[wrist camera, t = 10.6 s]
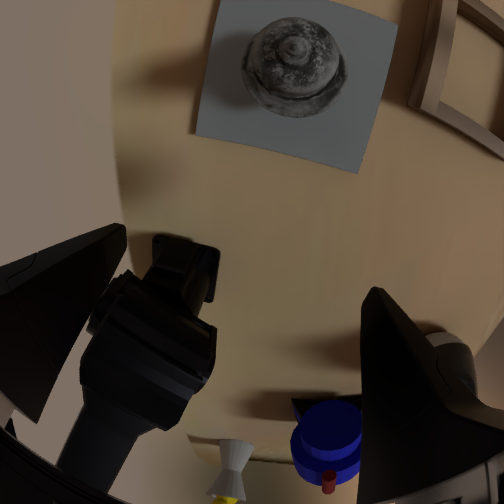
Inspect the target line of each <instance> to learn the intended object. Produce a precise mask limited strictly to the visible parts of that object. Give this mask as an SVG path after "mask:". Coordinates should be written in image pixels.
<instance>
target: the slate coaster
mask: <svg viewBox="0 0 504 504" xmlns="http://www.w3.org/2000/svg"><path fill="white" fill-rule="evenodd" d="M288 17H300V18H306V19H309V20H312V21H315V22H316V23H318V24H320V25H321V26H323V27H324V28H325V29H326V30H327V31H328V32H329V33H330V34H331V35H332V36H333V38H334V39H335V40H336V41H337V42H338V43H339V44H340V46H341V47H342V49H343V51H344V53H345V56H346V58H347V63H348V68H349V74H348V82H347V85H346V88H345V90H344V92H343V95H342V96H341V97H340V98H339V99H338V101H337V102H336V103H335V104H334V105H333V106H331V107H330V108H328V109H327V110H326V111H324V112H322V113H319V114H316V115H314V116H311V117H302V118H293V117H285V116H281V115H279V114H276V113H273V112H270V111H269V110H267V109H266V108H264V107H263V106H261V105H260V104H258V102H257V101H256V100H255V99H254V98H253V97H252V96H251V95H250V94H249V92H248V90H247V88H246V86H245V84H244V82H243V77H242V73H241V62H242V56H243V53H244V51H245V48H246V46H247V44H248V43H249V42H250V40H251V39H252V38H253V36H254V35H256V34H257V33H258V32H260V31H261V30H262V29H263V28H264V27H265V26H267V25H268V24H270V23H271V22H273V21H276V20H279V19H281V18H288ZM398 26H399V25H397V24H394V23H392V22H390V21H387V20H385V19H382V18H380V17H377V16H375V15H372V14H369V13H366V12H364V11H361V10H358V9H355V8H352V7H349V6H345V5H342V4H339V3H335V2H332V1H328V0H221V2H220V6H219V10H218V14H217V18H216V22H215V27H214V31H213V36H212V41H211V46H210V50H209V55H208V61H207V66H206V71H205V77H204V82H203V88H202V94H201V100H200V106H199V113H198V120H197V126H196V134H195V135H197V136H203V137H209V138H214V139H220V140H225V141H230V142H235V143H240V144H245V145H250V146H255V147H259V148H264V149H268V150H272V151H276V152H281V153H285V154H289V155H293V156H296V157H300V158H304V159H308V160H311V161H315V162H319V163H322V164H325V165H329V166H332V167H336V168H339V169H342V170H345V171H349V172H352V173H355V174H358V171H359V168H360V165H361V162H362V159H363V156H364V153H365V150H366V147H367V143H368V140H369V137H370V134H371V131H372V127H373V124H374V121H375V117H376V114H377V110H378V107H379V103H380V100H381V96H382V93H383V89H384V85H385V81H386V78H387V74H388V70H389V66H390V62H391V57H392V53H393V49H394V44H395V40H396V35H397V30H398Z"/></svg>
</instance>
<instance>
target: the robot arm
mask: <svg viewBox="0 0 504 504" xmlns="http://www.w3.org/2000/svg"><path fill="white" fill-rule="evenodd" d="M157 239H158V240H159V241H157ZM126 248H127V235H126V227H125V226H124V225H122V224H119V223H113V224H110V225H107V226H105V227H102V228H99V229H96V230H93V231H91V232H88V233H85V234H82V235H79V236H77V237H74V238H72V239H69V240H66V241H64V242H61V243H59V244H56V245H54V246H51V247H48V248H46V249H44V250H41V251H39V252H38V253H34V254H31V255H29V256H26V257H24V258H22V259H19V260H17V261H14V262H11V263H9V264H6V265H3V266H1V267H0V504H131V503H128V502H125V501H123V500H121V499H118V498H116V497H114V496H111V495H109V494H107V493H108V491H109V489H110V488H111V486H112V484H113V482H114V480H115V478H116V476H117V475H118V473H119V471H120V469H121V467H122V465H123V463H124V462H125V460H126V458H127V456H128V454H129V452H130V450H131V449H132V447H133V445H134V443H135V441H136V440H137V438H138V436H140V435H142V434H144V433H146V432H148V431H150V430H152V429H155V428H159V429H162V430H163V431H167V430H169V429H170V428H172V427H173V426H175V425H176V424H177V423H178V422H179V421H180V418H181V416H182V414H183V412H184V410H185V408H186V406H187V404H188V402H189V400H190V398H191V397H192V395H194V394H196V393H197V392H199V391H200V390H201V389H202V388H203V386H204V385H205V384H206V382H207V380H208V379H209V377H210V375H211V373H212V370H213V368H214V365H215V359H216V341H217V328H216V327H214V326H213V325H211V326H210V325H209V324H207V323H205V322H204V321H202V320H201V319H199V318H197V317H198V315H199V312H200V309H201V307H202V304H203V302H207V303H212V302H213V299H214V295H215V288H216V281H217V275H218V268H219V261H220V255H221V254H220V251H219V250H218V249H215V248H211V247H207V246H203V245H199V244H196V243H192V242H188V241H184V240H180V239H176V238H171V237H167V236H163V235H158V234H157V235H155V236H154V237H153V239H152V256H153V264H152V265H151V267H150V268H149V270H148V271H147V273H146V274H145V276H144V277H143V279H142V280H140V279H139V278H138V277H136V276H135V275H133V272H131V271H130V270H129V269H127V271H126V272H125V273H124V274H123V275H122V274H120V275H119V277H118V278H113V280H112V281H111V278H112V277H113V275H114V272H115V271H116V268H117V267H118V265H119V262H120V261H121V258H122V257H123V255H124V253H125V251H126ZM213 253H215V254H216V256H215V255H213ZM110 281H111V282H110ZM109 282H110V284H109ZM108 284H109V285H108ZM207 297H208V298H207ZM209 298H210V299H209ZM89 316H90V318H89ZM88 318H89V324H88V326H87V329H86V331H87V332H88V333H90V334H91V335H93V337H92V339H91V340H90V342H89V344H88V346H87V348H86V350H85V351H84V353H83V355H82V357H81V360H80V369H79V370H80V372H79V373H80V384H81V385H82V391H83V400H84V404H83V407H82V408H81V410H80V413H79V415H78V416H77V419H76V421H75V423H74V425H73V427H72V429H71V431H70V433H69V435H68V437H67V440H66V442H65V444H64V446H63V448H62V450H61V453H60V455H59V457H58V459H57V462H56V464H55V465H53V464H52V463H50V462H48V461H47V460H45V459H44V458H42V457H41V456H39V455H38V454H36V453H35V452H34V451H32V450H31V449H29V448H28V447H27V446H25V445H24V444H23V443H21V442H20V441H18V440H17V438H16V433H15V429H14V425H13V421H12V418H10V416H11V414H12V413H13V411H14V409H16V410H17V411H19V412H20V413H21V414H22V415H24V416H25V417H27V418H28V419H29V420H31V421H32V422H34V423H36V424H37V423H38V421H39V418H40V416H41V413H42V411H43V408H44V406H45V404H46V402H47V399H48V397H49V395H50V393H51V390H52V388H53V386H54V384H55V381H56V380H57V377H58V374H59V373H60V371H61V369H62V367H63V365H64V363H65V361H66V359H67V357H68V355H69V353H70V351H71V349H72V347H73V345H74V343H75V341H76V339H77V337H78V336H79V334H80V332H81V330H82V328H83V327H84V325H85V323H86V321H87V320H88ZM360 356H361V381H362V434H361V455H360V471H359V484H358V494H357V504H389V503H395V504H504V410H501V409H496V408H492V407H489V406H487V405H485V404H484V403H482V402H481V401H480V400H479V399H478V398H477V397H476V396H475V394H474V393H473V392H472V391H471V390H470V389H469V388H468V386H467V385H466V384H465V383H464V382H463V381H462V380H461V378H460V377H459V376H458V375H457V374H456V373H455V372H454V370H453V369H452V368H451V367H450V366H449V364H448V363H447V362H446V361H445V360H444V358H443V357H442V356H441V355H440V353H438V351H437V350H436V349H435V347H434V346H433V345H432V344H431V342H430V341H429V340H428V339H427V338H426V336H425V335H424V334H423V333H422V332H421V331H420V329H419V328H418V327H417V326H416V325H415V324H414V322H413V321H412V320H411V319H410V318H409V317H408V315H407V314H406V313H405V312H404V311H403V310H402V309H401V308H400V306H399V305H398V304H397V303H396V302H395V301H394V300H393V299H392V298H391V296H390V295H389V294H388V293H387V292H386V291H385V290H384V289H383V288H379V287H375V286H374V287H372V288H371V289H370V291H369V293H368V294H367V296H366V298H365V300H364V301H363V303H362V307H361V330H360Z"/></svg>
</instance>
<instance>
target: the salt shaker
mask: <svg viewBox="0 0 504 504" xmlns="http://www.w3.org/2000/svg"><path fill="white" fill-rule="evenodd" d="M241 73H242V77H243V82H244V84H245V86H246V88H247V90H248V92H249V94H250V95H251V96H252V97H253V98H254V99H255V100H256V101H257V102H258V104H260V105H261V106H263V107H264V108H266V109H267V110H269V111H270V112H273V113H276V114H279V115H281V116H285V117H293V118H302V117H311V116H314V115H316V114H319V113H322V112H324V111H326V110H327V109H328V108H330V107H331V106H333V105H334V104H335V103H336V102H337V101H338V99H339V98H340V97H341V96H342V95H343V92H344V90H345V88H346V85H347V82H348V74H349V68H348V63H347V58H346V56H345V53H344V51H343V49H342V47H341V46H340V44H339V43H338V42H337V41H336V40H335V39H334V38H333V36H332V35H331V34H330V33H329V32H328V31H327V30H326V29H325V28H324V27H323V26H321V25H320V24H318V23H316V22H315V21H312V20H309V19H306V18H300V17H288V18H281V19H279V20H276V21H273V22H271V23H270V24H268V25H267V26H265V27H264V28H263V29H262V30H261V31H260V32H258V33H257V34H256V35H254V36H253V38H252V39H251V40H250V42H249V43H248V44H247V46H246V48H245V51H244V53H243V56H242V62H241Z"/></svg>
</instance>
